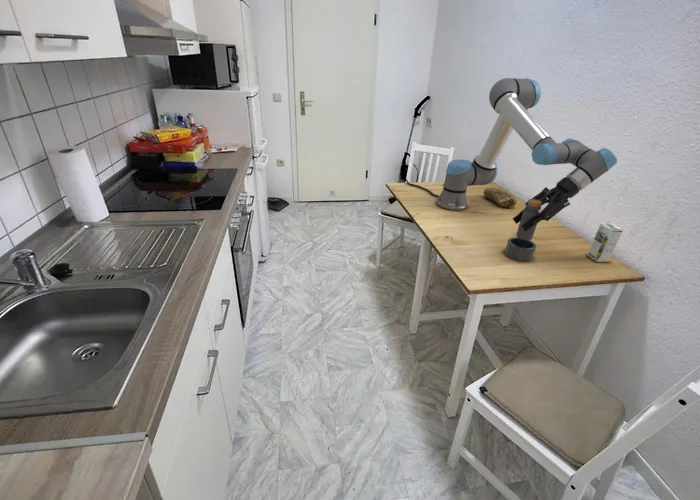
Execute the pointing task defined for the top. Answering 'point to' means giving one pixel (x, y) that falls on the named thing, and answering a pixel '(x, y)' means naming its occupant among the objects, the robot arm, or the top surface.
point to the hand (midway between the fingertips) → (519, 224)
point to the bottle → (527, 215)
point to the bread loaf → (500, 197)
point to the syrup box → (604, 242)
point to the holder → (520, 249)
